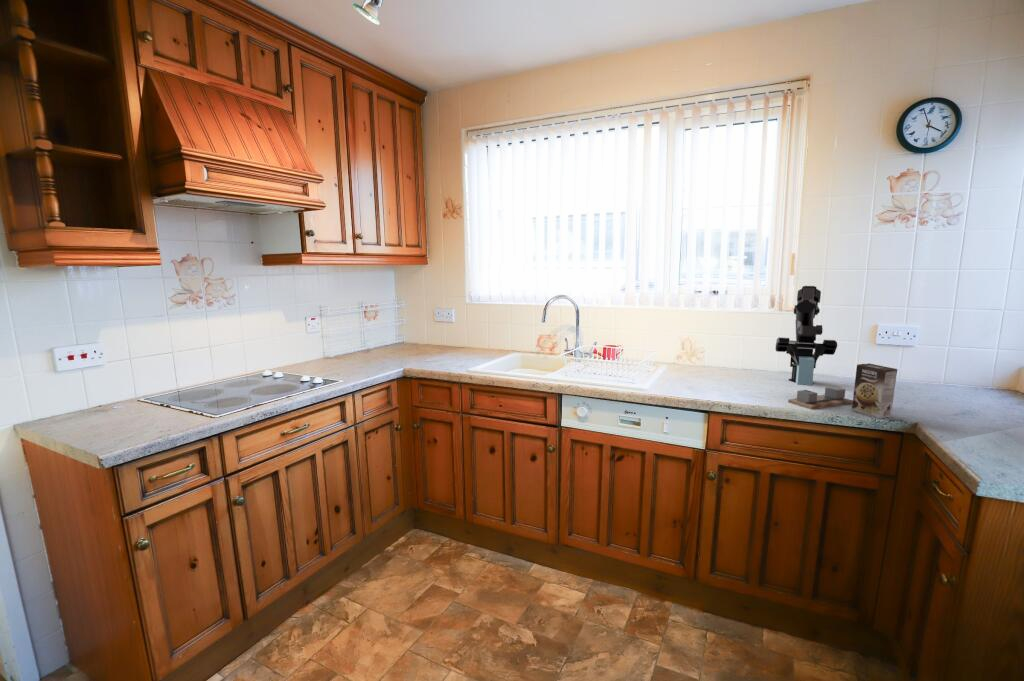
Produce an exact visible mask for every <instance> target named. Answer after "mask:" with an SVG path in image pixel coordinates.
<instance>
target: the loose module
mask: <svg viewBox="0 0 1024 681" xmlns="http://www.w3.org/2000/svg"><path fill="white" fill-rule="evenodd" d="M814 361H815V360H814V358H813V357H804V356H799V365H797V373H796V382H795V383H796V385H798V386H810V387H813V383H814V381H813V380H814V370H815V368H814Z"/></svg>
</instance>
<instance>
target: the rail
mask: <svg viewBox="0 0 1024 681" xmlns="http://www.w3.org/2000/svg"><path fill="white" fill-rule="evenodd" d="M844 398H845V397H844ZM844 398H837V399H836V398H833V397H829V396H819V397H817V401H815V402H805V401H802V400H798V399H797V401H799V402H802V403H805V404H809V403H816V402H823V401H830V400H838V399H844Z"/></svg>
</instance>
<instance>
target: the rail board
mask: <svg viewBox="0 0 1024 681" xmlns="http://www.w3.org/2000/svg"><path fill="white" fill-rule="evenodd" d="M819 396H825V394H819V395H818V394H817V397H819ZM787 402H788V403H790V404H793V405H797V406H800V407H803V408H805V409H809V410H814V409H820V408H821V407H822V408H826V407H827V408H828V406H829V407H835V406H834V405H836V406H842V405H841V404H843V405H848V403H850V404H852V403H853V399H849V398H846V397H844V399H838V400H830V401H823V402H816V403H809V404H805V403H802V402H799V401H797V397H796V398H790V399H789V398H788V401H787Z"/></svg>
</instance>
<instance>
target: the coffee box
mask: <svg viewBox="0 0 1024 681" xmlns="http://www.w3.org/2000/svg"><path fill="white" fill-rule="evenodd" d="M897 376H898V368H893V367H889V366H884V365H879V364H874V363H860V364H859V363H858V364H857V365H856V371H855V379H854V388H853V397H852V400H853V403H851V404H852V405H851V411H852V412H854V411H855V413H859V414H861V415H865V416H869V417H871V418H876V419H884V418H889V417H890V418H891V417H892V410H893V403H894V396H895V395H894V394H895V388H896V383H897Z"/></svg>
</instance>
